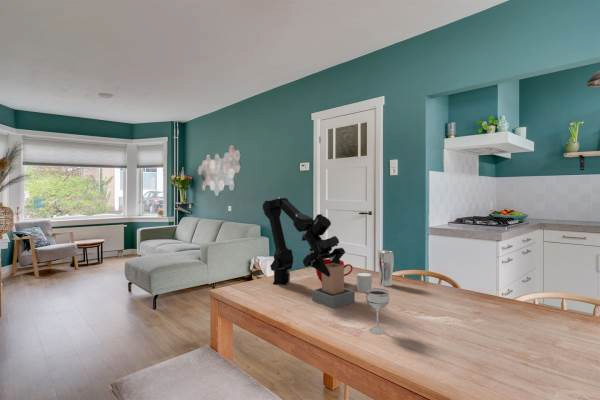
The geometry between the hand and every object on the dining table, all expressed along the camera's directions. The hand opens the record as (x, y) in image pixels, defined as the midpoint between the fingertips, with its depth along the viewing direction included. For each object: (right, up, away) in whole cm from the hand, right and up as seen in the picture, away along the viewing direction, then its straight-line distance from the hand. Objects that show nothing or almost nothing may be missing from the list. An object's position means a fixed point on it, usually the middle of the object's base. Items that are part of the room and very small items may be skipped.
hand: (335, 274), depth 127 cm
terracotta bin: (-1, -7, +1) cm, 7 cm away
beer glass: (+25, -10, +23) cm, 35 cm away
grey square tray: (-1, -10, +1) cm, 10 cm away
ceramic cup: (+2, -10, +25) cm, 27 cm away
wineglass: (+10, -11, -26) cm, 30 cm away
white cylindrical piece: (+14, -10, +14) cm, 22 cm away
